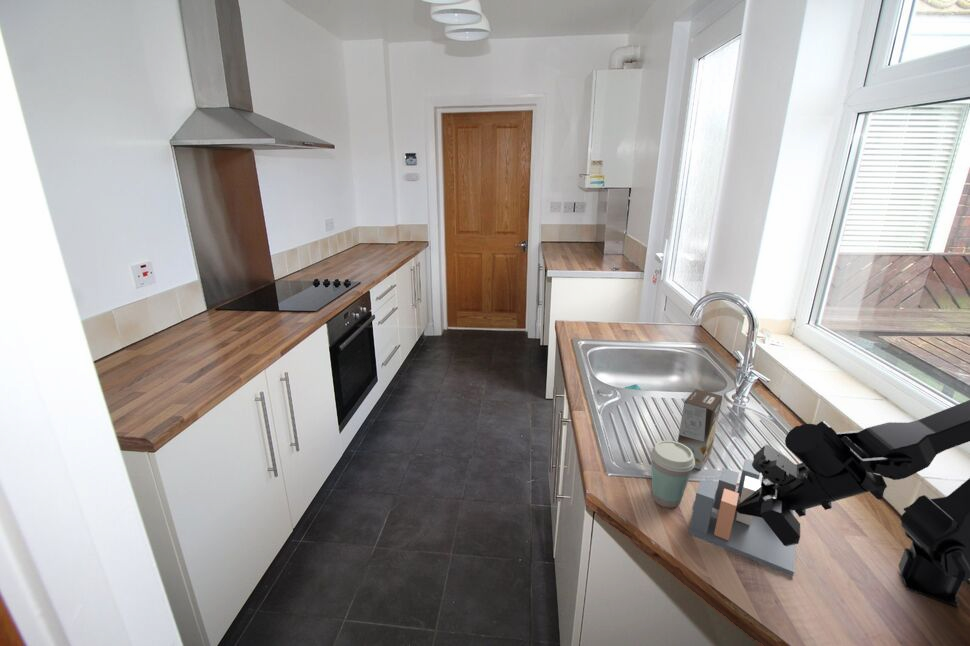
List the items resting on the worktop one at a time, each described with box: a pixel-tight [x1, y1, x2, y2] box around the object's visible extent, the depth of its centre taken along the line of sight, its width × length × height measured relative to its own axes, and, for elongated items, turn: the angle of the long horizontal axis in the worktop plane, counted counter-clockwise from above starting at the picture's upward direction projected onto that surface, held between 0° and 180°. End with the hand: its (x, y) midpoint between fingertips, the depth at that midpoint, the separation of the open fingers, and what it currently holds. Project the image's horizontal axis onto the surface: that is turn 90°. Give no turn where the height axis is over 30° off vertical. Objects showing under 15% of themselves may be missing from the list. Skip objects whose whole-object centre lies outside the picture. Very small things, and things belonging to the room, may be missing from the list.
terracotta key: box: [691, 488, 739, 541], centre depth 85 cm, size 7×4×8 cm, turn 56°
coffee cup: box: [650, 440, 695, 508], centre depth 94 cm, size 8×8×12 cm
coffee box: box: [677, 388, 723, 470], centre depth 107 cm, size 9×6×16 cm
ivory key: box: [715, 476, 761, 525], centre depth 89 cm, size 7×4×8 cm, turn 56°
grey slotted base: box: [688, 458, 797, 577], centre depth 88 cm, size 17×18×9 cm
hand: (737, 509), depth 83 cm, fingers closed, pressing on terracotta key
